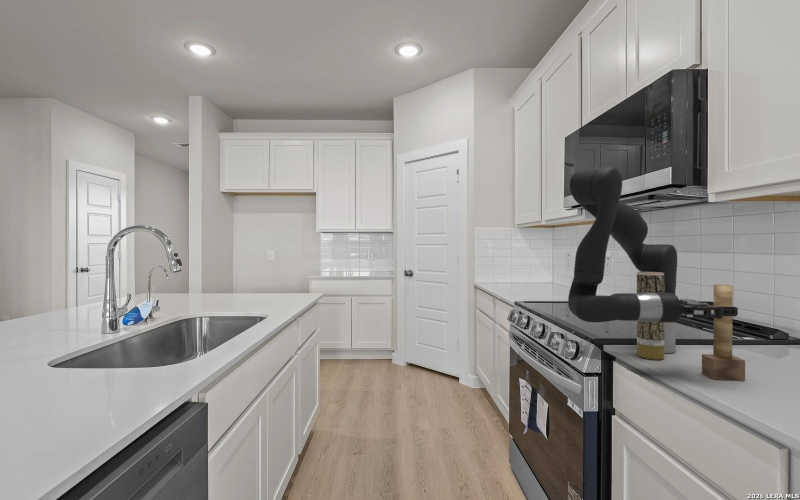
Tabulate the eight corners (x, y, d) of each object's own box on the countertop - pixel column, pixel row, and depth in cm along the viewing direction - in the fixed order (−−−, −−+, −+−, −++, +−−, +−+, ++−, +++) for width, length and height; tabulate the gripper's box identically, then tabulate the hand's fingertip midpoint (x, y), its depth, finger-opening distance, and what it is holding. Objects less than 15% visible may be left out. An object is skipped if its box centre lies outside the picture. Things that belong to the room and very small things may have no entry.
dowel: (710, 354, 97) (710, 284, 97) (725, 355, 97) (726, 284, 97) (719, 359, 94) (719, 285, 94) (735, 359, 93) (736, 286, 93)
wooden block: (712, 379, 94) (712, 359, 94) (701, 373, 98) (701, 354, 98) (745, 380, 93) (745, 360, 93) (732, 374, 97) (732, 355, 97)
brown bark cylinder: (668, 361, 109) (668, 273, 108) (642, 359, 110) (642, 273, 110) (657, 354, 115) (657, 271, 115) (633, 353, 117) (632, 271, 116)
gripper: (668, 296, 91) (745, 297, 88) (640, 289, 105) (706, 290, 102) (668, 327, 91) (745, 329, 88) (640, 316, 105) (706, 318, 102)
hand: (724, 308), depth 95 cm, fingers open, 8 cm apart
